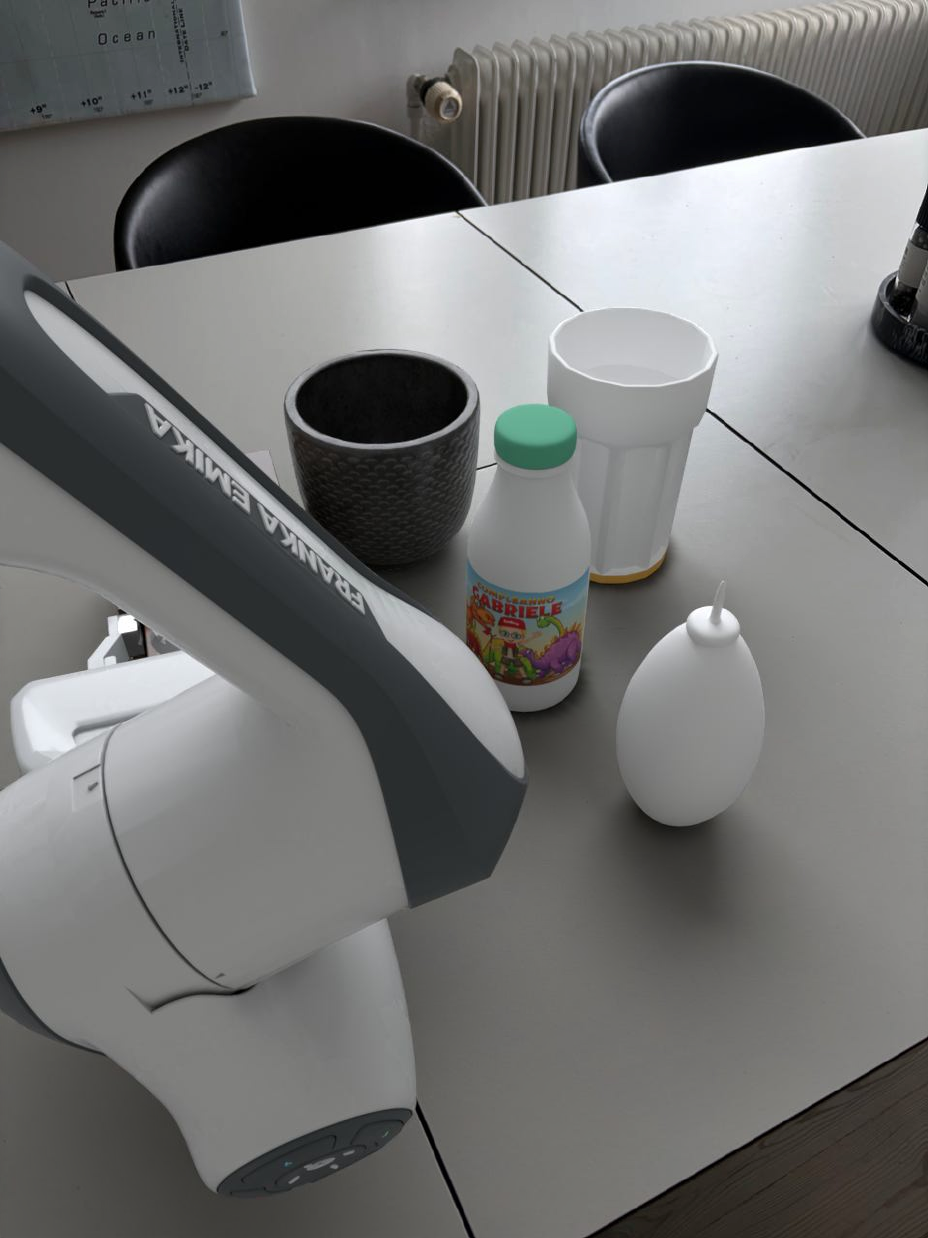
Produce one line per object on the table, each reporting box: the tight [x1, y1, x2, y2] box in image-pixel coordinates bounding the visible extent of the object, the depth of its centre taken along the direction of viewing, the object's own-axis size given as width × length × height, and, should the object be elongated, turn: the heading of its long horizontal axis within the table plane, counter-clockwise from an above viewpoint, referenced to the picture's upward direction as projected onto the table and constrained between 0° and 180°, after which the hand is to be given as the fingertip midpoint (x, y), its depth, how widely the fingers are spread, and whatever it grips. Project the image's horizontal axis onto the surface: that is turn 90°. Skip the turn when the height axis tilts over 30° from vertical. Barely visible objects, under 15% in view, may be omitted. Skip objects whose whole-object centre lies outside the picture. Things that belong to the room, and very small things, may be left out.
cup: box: [546, 306, 720, 584], centre depth 73 cm, size 11×11×17 cm
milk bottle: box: [465, 403, 591, 713], centre depth 62 cm, size 8×8×20 cm
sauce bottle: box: [615, 580, 766, 827], centre depth 55 cm, size 8×8×18 cm
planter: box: [283, 348, 481, 571], centre depth 75 cm, size 14×14×13 cm
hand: (213, 605), depth 55 cm, fingers open, 8 cm apart
